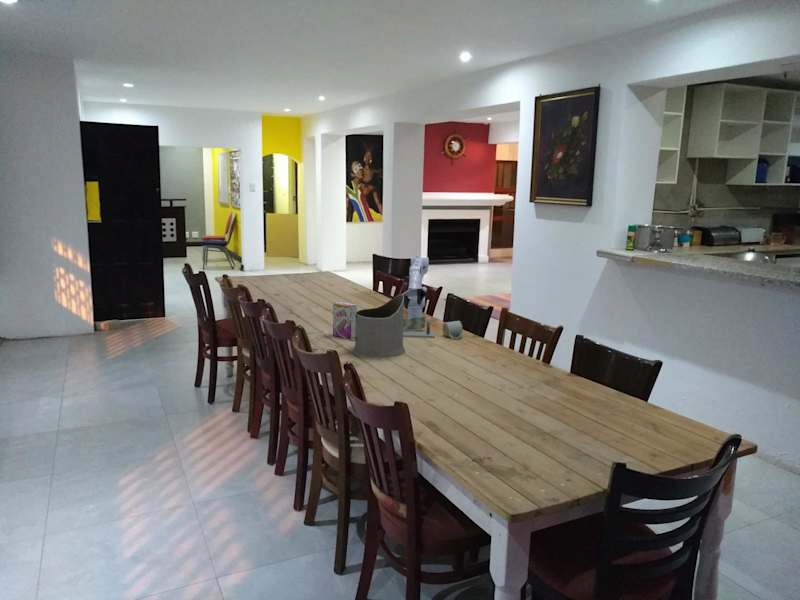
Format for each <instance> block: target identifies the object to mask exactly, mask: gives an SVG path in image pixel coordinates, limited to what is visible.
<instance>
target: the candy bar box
mask: <svg viewBox="0 0 800 600" xmlns="http://www.w3.org/2000/svg"><path fill="white" fill-rule="evenodd" d="M340 308H348V309H350V310H352V311H353V312H354V313H355V314H356V312H357V311H358V305H357V304H356V303H349V302H343V301H336V302H333V303H332V336H334V337H338V338H339V337H340V338H344V337H346V338H348V339H351V340H354V339H355V327H356V318H355V314H354V313H353V312H352V311H350V310H347V309H341V310H339V311H338V313H337V315H336V327H337V330H338V331H339V332H340V334H342V335H343V336H344V337H342V336H341V335H340V334H339V333H338V332H337V330H336V328H335V322H334V318H335V313H336V312H337V310H338V309H340ZM344 339H345V338H344Z"/></svg>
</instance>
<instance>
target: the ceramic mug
mask: <svg viewBox="0 0 800 600" xmlns="http://www.w3.org/2000/svg"><path fill="white" fill-rule="evenodd" d="M462 324H463V323H462V321H460V320H455V321H454V320H453V321H447V322H444V323H443V325H442V333H443V335H444V336H445V337H446V338H450V339H452V340H455V341H457V339H458V340H460V339H461V338H462V335H463V329H464V328H463V325H462Z"/></svg>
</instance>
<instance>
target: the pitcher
mask: <svg viewBox="0 0 800 600" xmlns="http://www.w3.org/2000/svg"><path fill="white" fill-rule="evenodd" d="M341 309H347V310H350V309H348V308H340V309H338V310H337V312H336V313H335V318H334V322H335V328H336V330H337V327H336V315H337V313H338V311H339V310H341ZM350 311H352V310H350ZM352 312H353V311H352ZM404 312H405V307H404V296H403V295H401V294H397V295H395V296H394V297H393V298H391V299H390V300H389V301H387V302H386V303H384V304H382V305H380V306H378V307H372V308H371V307H370V308H364V309H363V308H362V309H359V310H357V312H356V314H355V313H354V312H353V313H354V314H355V318H356V327H355V338H354V339H348V338H346V337H344V336H343V335H342V334H340V332H339V331H338V330H337V332H338V333H339V334H340V335H341V336H342V337H341V338H343V337H344V339H345V340H347V341H349V342H355V344H354V347H353V350H352V353H354V354H355V355H357V356H359V357H363V358H368V359H391V358H397V357H400V356H403V355H404V354H405V353H406V350H405V349H406V348H405V346H404V337H403V319H405V318H404V317H405V316H404V315H405V313H404Z"/></svg>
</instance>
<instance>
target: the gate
mask: <svg viewBox="0 0 800 600" xmlns="http://www.w3.org/2000/svg"><path fill="white" fill-rule="evenodd" d="M425 326H426V316H423V315H422V317H415V318H408V317H407V318H404V319H403V331H413V330H414V331H415V330H420V329H425V328H426V327H425Z"/></svg>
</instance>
